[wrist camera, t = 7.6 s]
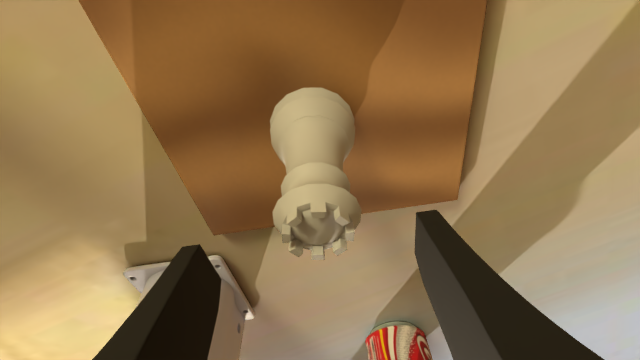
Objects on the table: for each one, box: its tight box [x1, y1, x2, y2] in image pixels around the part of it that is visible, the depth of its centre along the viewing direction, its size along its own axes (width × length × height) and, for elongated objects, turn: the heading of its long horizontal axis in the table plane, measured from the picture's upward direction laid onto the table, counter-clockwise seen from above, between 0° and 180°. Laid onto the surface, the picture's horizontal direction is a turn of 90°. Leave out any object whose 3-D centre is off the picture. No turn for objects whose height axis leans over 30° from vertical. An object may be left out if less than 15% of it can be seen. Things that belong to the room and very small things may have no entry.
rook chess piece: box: [270, 88, 361, 260], centre depth 14 cm, size 4×4×8 cm
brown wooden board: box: [79, 0, 487, 235], centre depth 17 cm, size 15×17×1 cm
